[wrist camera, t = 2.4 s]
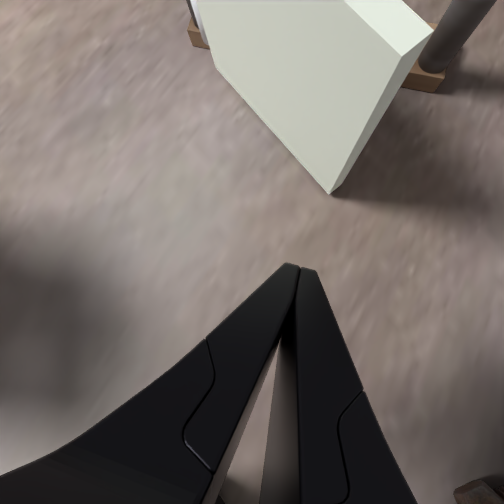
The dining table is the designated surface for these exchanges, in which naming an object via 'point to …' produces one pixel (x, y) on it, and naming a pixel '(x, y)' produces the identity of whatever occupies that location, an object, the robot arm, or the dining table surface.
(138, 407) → the robot arm
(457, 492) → the bolt
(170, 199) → the dining table surface
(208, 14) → the door
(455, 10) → the door frame
